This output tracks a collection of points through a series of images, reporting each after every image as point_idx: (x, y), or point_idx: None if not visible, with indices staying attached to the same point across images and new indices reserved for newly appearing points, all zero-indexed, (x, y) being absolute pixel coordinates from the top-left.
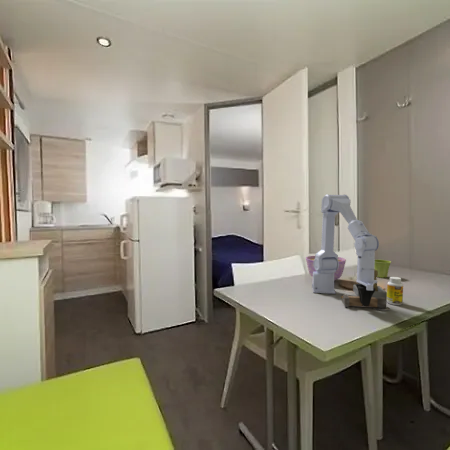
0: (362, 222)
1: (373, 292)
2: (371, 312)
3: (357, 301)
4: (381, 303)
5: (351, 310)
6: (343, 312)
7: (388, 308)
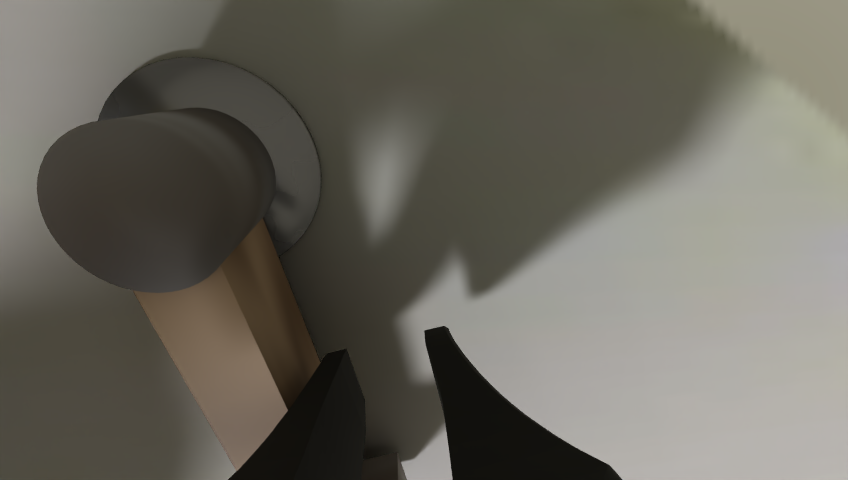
0: None
1: (579, 453)
2: (444, 266)
3: None
4: (254, 188)
5: None
6: None
7: (189, 76)
